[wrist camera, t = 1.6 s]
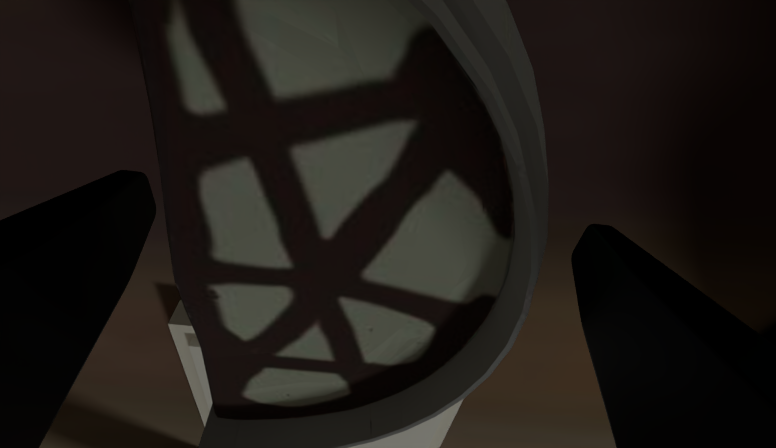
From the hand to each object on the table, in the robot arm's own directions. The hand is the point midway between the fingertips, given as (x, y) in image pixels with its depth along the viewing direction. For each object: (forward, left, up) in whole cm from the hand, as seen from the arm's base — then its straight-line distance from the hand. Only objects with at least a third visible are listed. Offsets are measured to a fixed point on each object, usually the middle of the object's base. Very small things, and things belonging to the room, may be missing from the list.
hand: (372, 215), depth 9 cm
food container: (0, 0, -7) cm, 7 cm away
